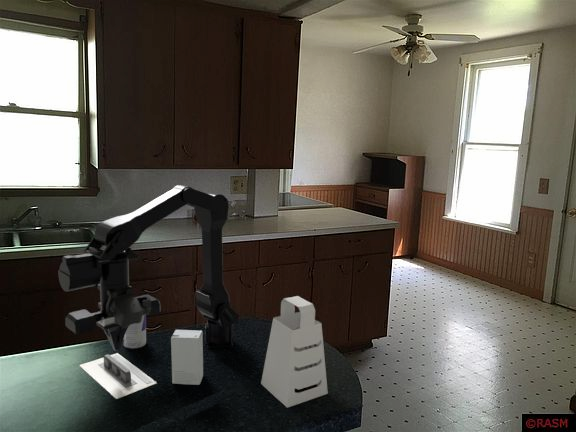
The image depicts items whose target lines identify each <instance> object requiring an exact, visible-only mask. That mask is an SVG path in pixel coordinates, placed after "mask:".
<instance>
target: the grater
mask: <svg viewBox="0 0 576 432" xmlns="http://www.w3.org/2000/svg"><path fill="white" fill-rule="evenodd" d="M295 306H296V307H297V308H298V310H299V311H298V312H295V311H296V310H295V309H296V307H295ZM272 318H273V319H272V323H271V329H270V334H269V339H268V344H267V348H266V349H267V350H266V354H265V360H264V365H263V371H262V376H261V381H260V384H261V386H263V387H264V388H265V389H266V390H267V391H268V392H269V393H270V394H271V395H273V396H274V397H275V398H276V399H277V400H278V401H279V402H280V403H281V404H283V405H284V406H285V408H290V407H293V406H297V405H299V404H301V403H305V402H308V401H310V400H313V399H316V398H318V397H319V398H320V397H323V396H325V395H327V394H329V392H328V383H327V371H326V361H325V349H324V337H323V335H324V334H323V328H322V326H323V325H322V322H320V321H318V320H316V308H315V305H314V304H313V303H312V302H310V301H308V300H306V299H304V298H302V297H301V296H299V295H296V296H292V297H290V296H289V297H284V298H283V299H282V300H281V302H280V315H279V316H275V317H272ZM315 345H316V346H315ZM310 347H311V348H310ZM314 385H316V387H315V386H314ZM312 386H314V387H313V388H310V389H307V390H304V391H299V390H302V389H304V388H308V387H312ZM295 390H298V391H299V392H296V391H295Z"/></svg>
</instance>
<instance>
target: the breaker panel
mask: <svg viewBox="0 0 576 432" xmlns="http://www.w3.org/2000/svg"><path fill="white" fill-rule="evenodd" d="M109 355H110V356H111V357H113V358H114V359H115V360H116V361H118V362H119V363H120V364H122V365H123V366H124V367H125V368H127V369H128V370H129V371H130V373H131V382H129V383H126V384H125V383H124V382H123V381H122V380H121V375H119V376H116V375H115V374H113V373H112V368H111V369H107V368H106V367H105V366H104V357H100V358H98V359H97V358H96V359H95V360H91V361H88V362H85V363H81V364H78V365H79V367H80V368H81V369H83V370H84V371H85V373H87V374H88V375H89V377H91V378H93V379H94V381H96V383H98V384H99V385H100V387H103V389H104V390H105V391H107V392H108V393H109V394H110V395H111V396H112V397H113V398H114V399H116V400H118V399H120V398H123V397H125V396H129V395H130V394H133V393H135V392H138V391H141V390H143V389H146V388H149V387H150V386H153V385H156V384H158V383H157V381H156V380H154V379H153V378H152V377H150V376H148V375H147V374H146V373H145V372H144V371H143V370H141V369H140V368H138V367H137V366H136V365H134V364H132V363H131V362H130V361H129V360H128V359H126V358H125V357H124V356H122V355H121V354H119V353H118V352H116V353H113V354H109Z"/></svg>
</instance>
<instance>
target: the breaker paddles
mask: <svg viewBox="0 0 576 432" xmlns="http://www.w3.org/2000/svg"><path fill="white" fill-rule="evenodd" d="M110 355H111V354H109V353H107V354H104V366H105V367H106V368H107V369H111V368H112V373H113V374H115V375H116V376H119V375H121V380H122V381H123V382H124V383H125V384H126V383H129V382H131V373H130V371H129V370H128V369H127V368H125V367H124V366H123V365H122V364H120V363H119V362H118V361H116V360H115V359H114V358H113V357H111V356H110Z"/></svg>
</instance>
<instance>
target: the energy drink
mask: <svg viewBox="0 0 576 432" xmlns="http://www.w3.org/2000/svg"><path fill="white" fill-rule="evenodd" d="M146 344H147V314H146V315H143V316H142V321H141V322H140V323H134V324H131V325H130V326H129V327H128V329H127V331H126V333H125V335H124V338H123V346H124V347H125V348H127V349H138V348H142V347H144V346H145V345H146Z"/></svg>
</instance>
